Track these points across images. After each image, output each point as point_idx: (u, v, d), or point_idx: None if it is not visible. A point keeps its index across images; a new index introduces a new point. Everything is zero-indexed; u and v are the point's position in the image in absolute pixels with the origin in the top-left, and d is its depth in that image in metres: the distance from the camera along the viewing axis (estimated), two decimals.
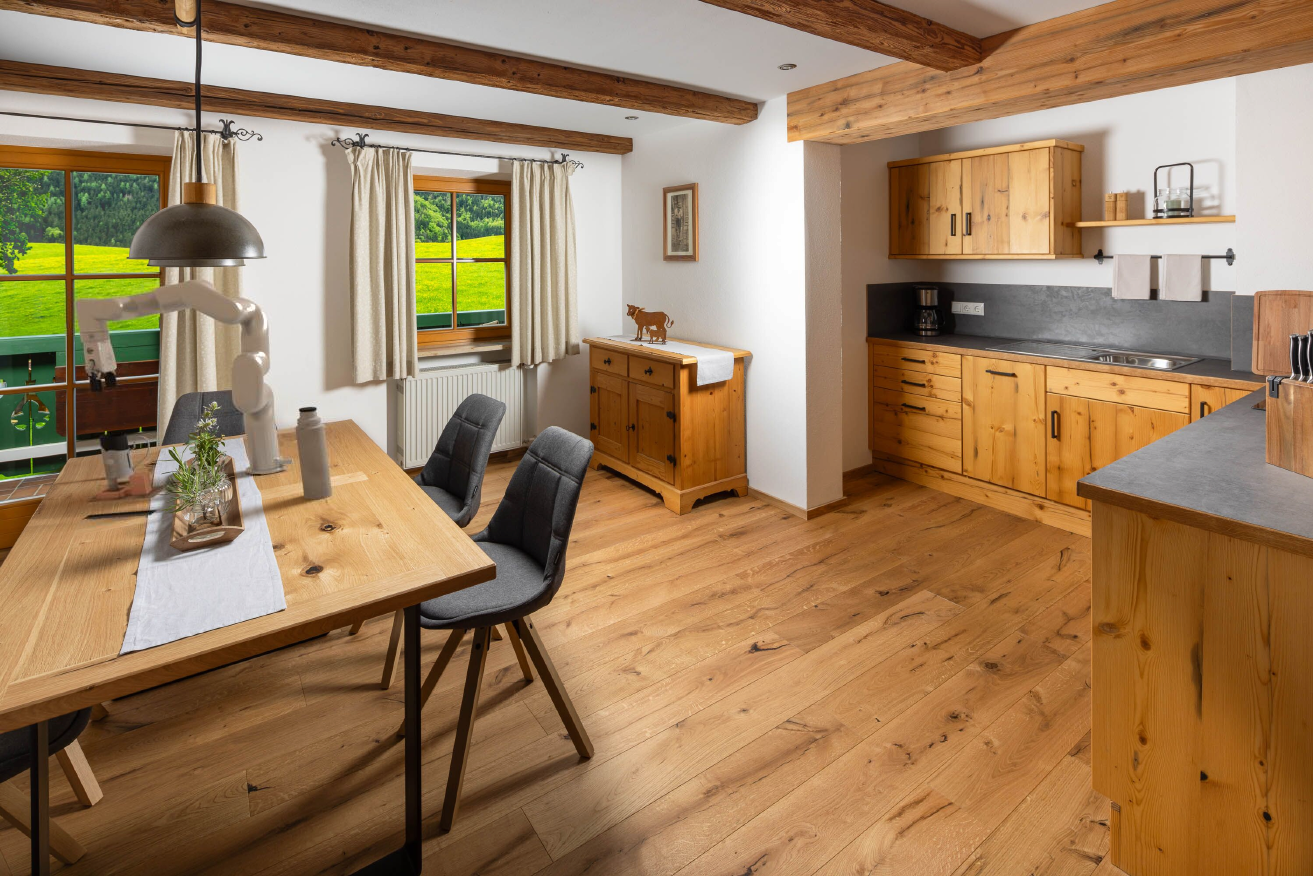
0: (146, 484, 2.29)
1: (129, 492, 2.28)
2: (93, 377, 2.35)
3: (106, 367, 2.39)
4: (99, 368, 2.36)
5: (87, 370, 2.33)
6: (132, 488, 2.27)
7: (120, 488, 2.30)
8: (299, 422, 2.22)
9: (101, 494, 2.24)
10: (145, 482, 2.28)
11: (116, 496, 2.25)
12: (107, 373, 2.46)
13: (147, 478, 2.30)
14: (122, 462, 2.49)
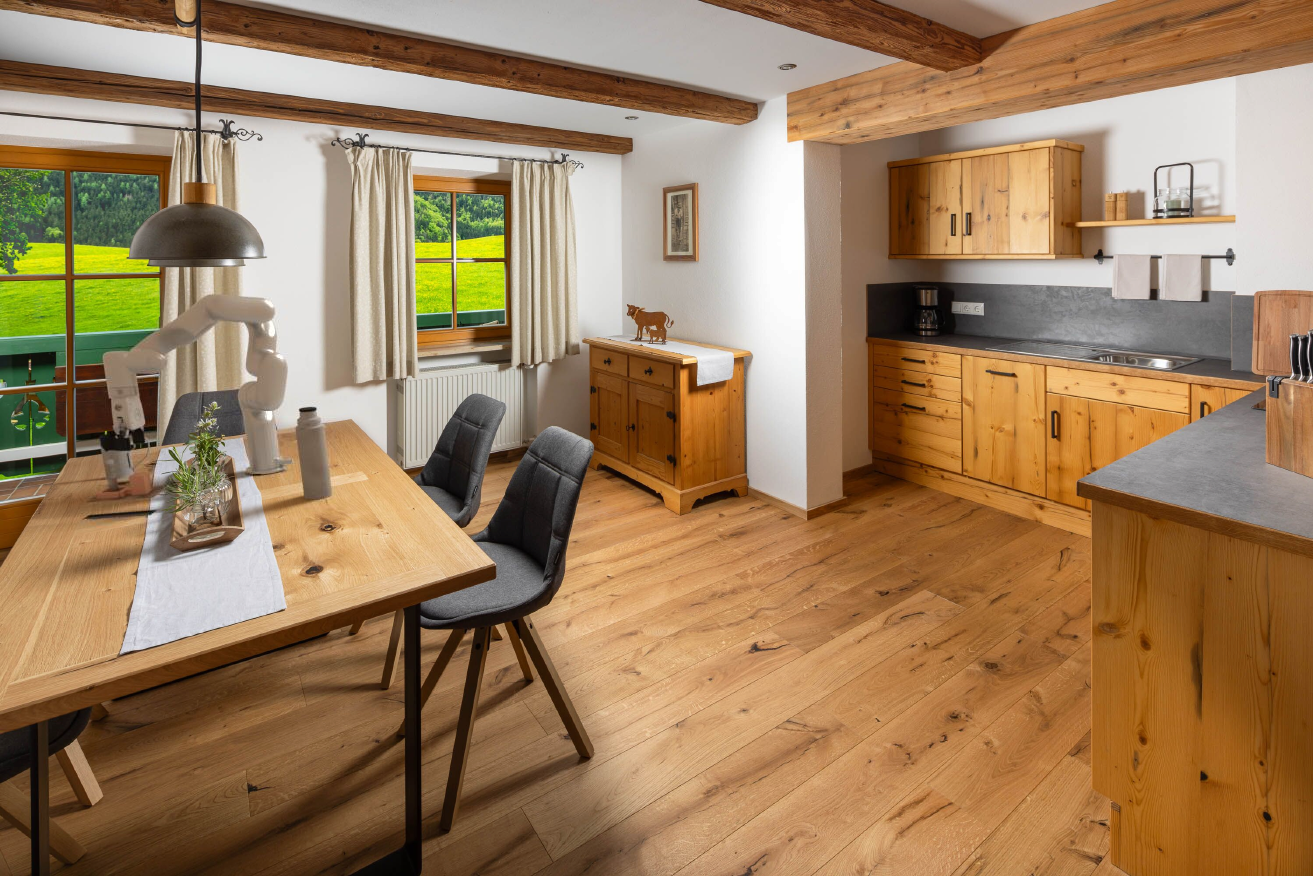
0: (146, 484, 2.29)
1: (129, 492, 2.28)
2: (121, 436, 2.19)
3: (135, 424, 2.23)
4: (127, 426, 2.20)
5: (115, 429, 2.17)
6: (132, 488, 2.27)
7: (120, 488, 2.30)
8: (299, 422, 2.22)
9: (101, 494, 2.24)
10: (145, 482, 2.28)
11: (116, 496, 2.25)
12: (135, 429, 2.30)
13: (147, 478, 2.30)
14: (122, 462, 2.49)
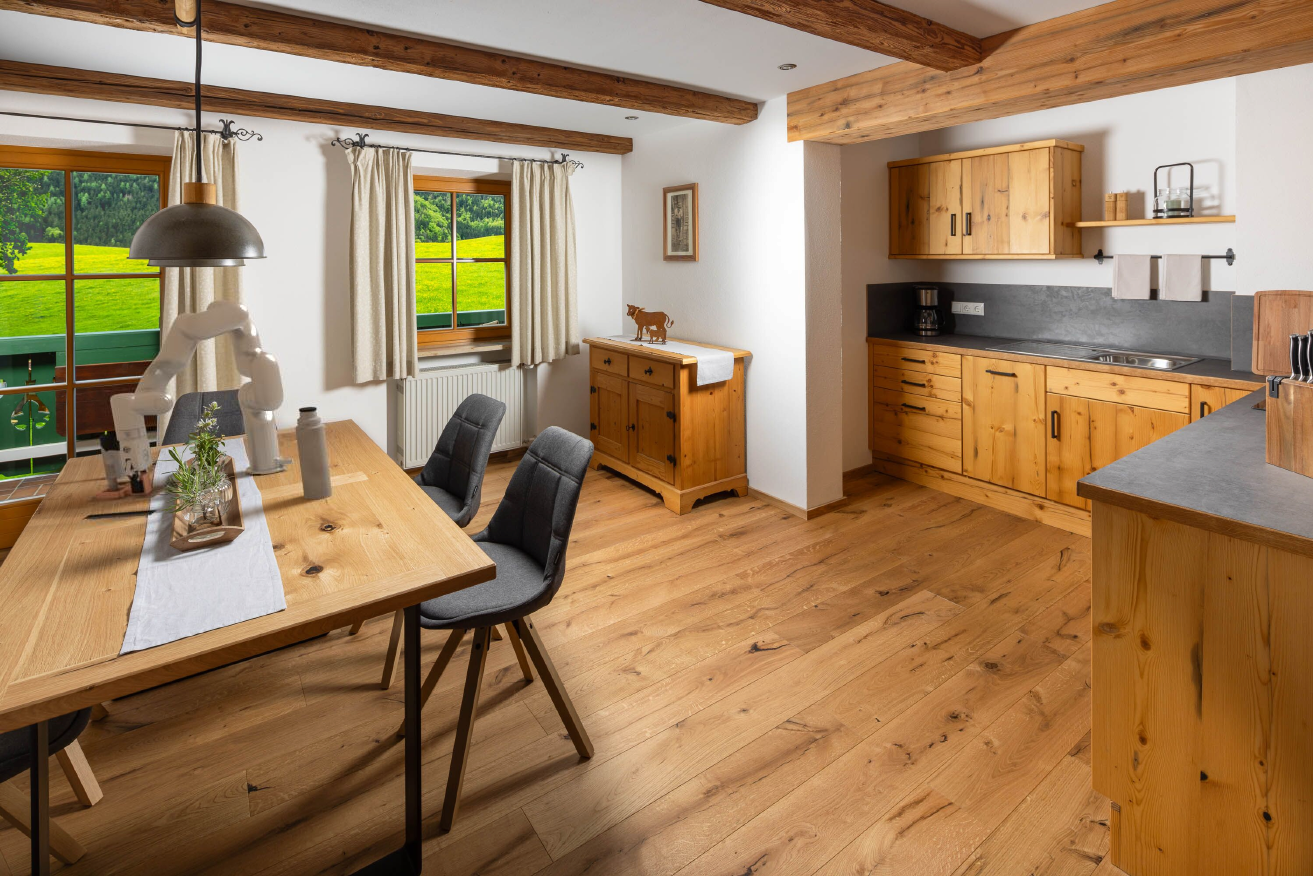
0: (146, 484, 2.29)
1: (129, 492, 2.28)
2: (134, 479, 2.25)
3: (143, 465, 2.26)
4: (136, 467, 2.23)
5: (128, 476, 2.22)
6: None
7: (120, 488, 2.30)
8: (299, 422, 2.22)
9: (101, 494, 2.24)
10: (145, 482, 2.28)
11: (116, 496, 2.25)
12: None
13: (147, 478, 2.30)
14: None
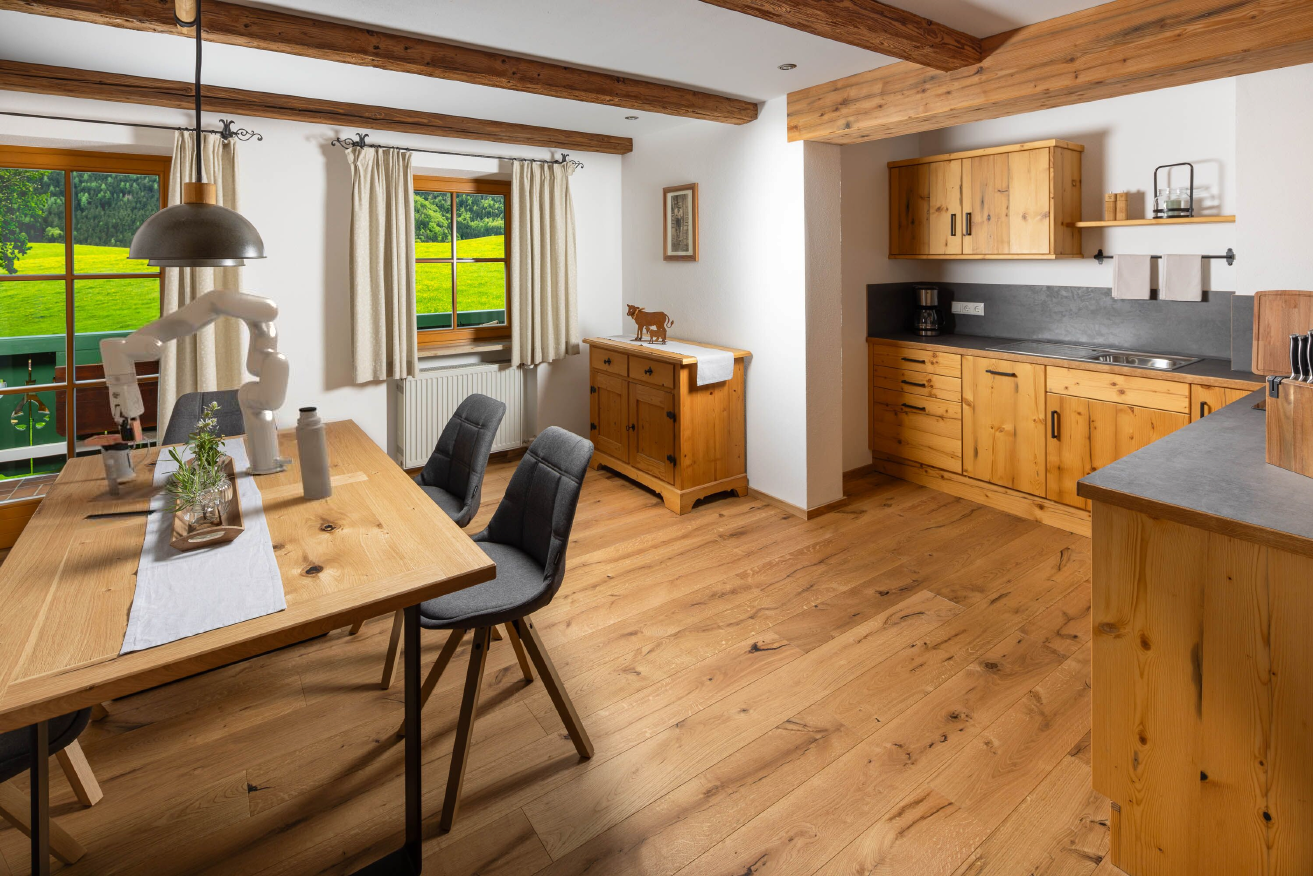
0: (136, 432, 2.23)
1: (119, 440, 2.22)
2: (124, 426, 2.19)
3: (133, 412, 2.20)
4: (125, 413, 2.18)
5: (117, 422, 2.16)
6: None
7: (110, 436, 2.25)
8: (299, 422, 2.22)
9: (90, 441, 2.18)
10: (135, 430, 2.22)
11: (105, 443, 2.19)
12: None
13: (138, 426, 2.24)
14: (122, 462, 2.49)
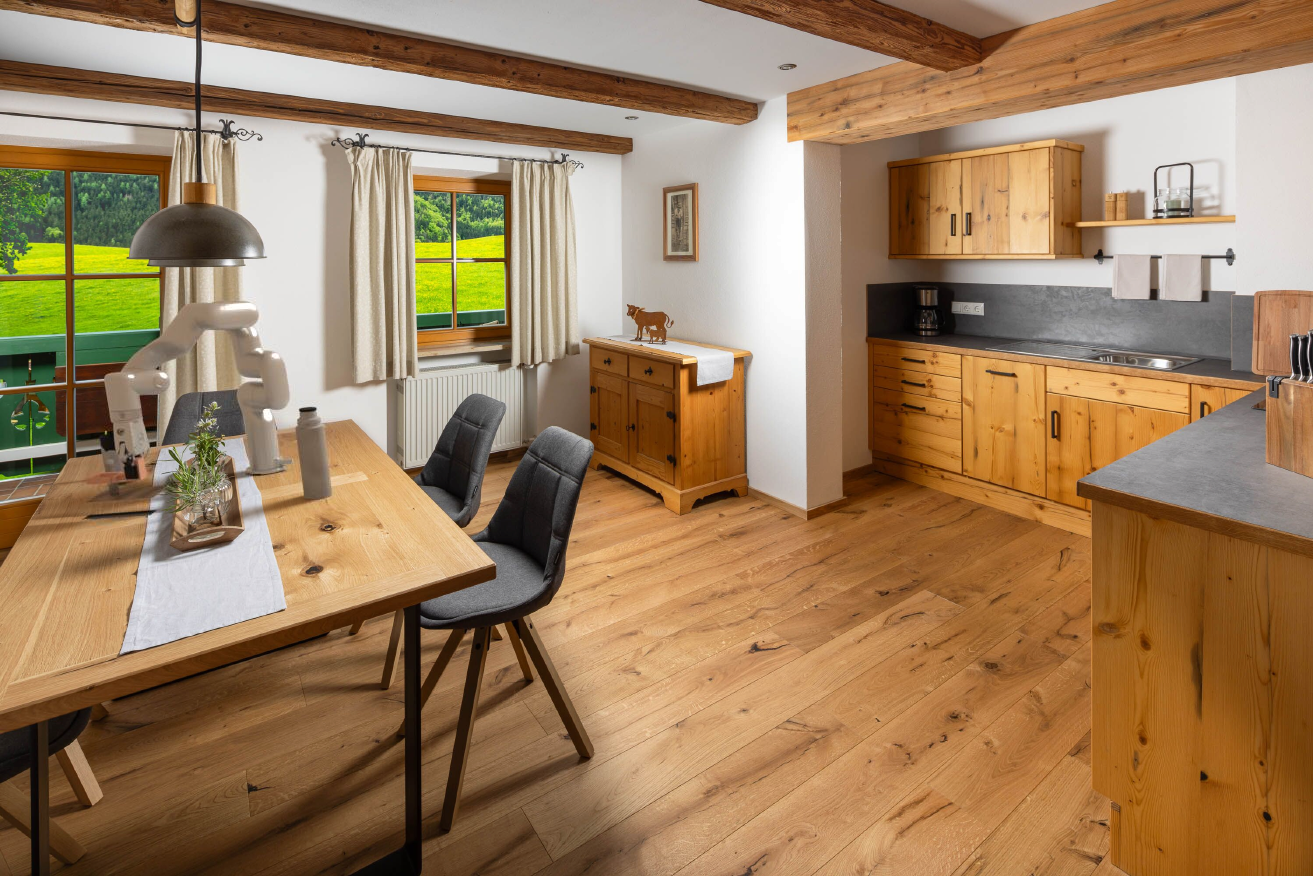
0: (140, 470, 2.14)
1: (122, 478, 2.14)
2: (128, 464, 2.11)
3: (138, 449, 2.12)
4: (130, 451, 2.09)
5: (122, 460, 2.08)
6: None
7: (113, 474, 2.16)
8: (299, 422, 2.22)
9: (92, 479, 2.10)
10: (139, 467, 2.14)
11: (108, 482, 2.11)
12: None
13: (142, 464, 2.16)
14: None
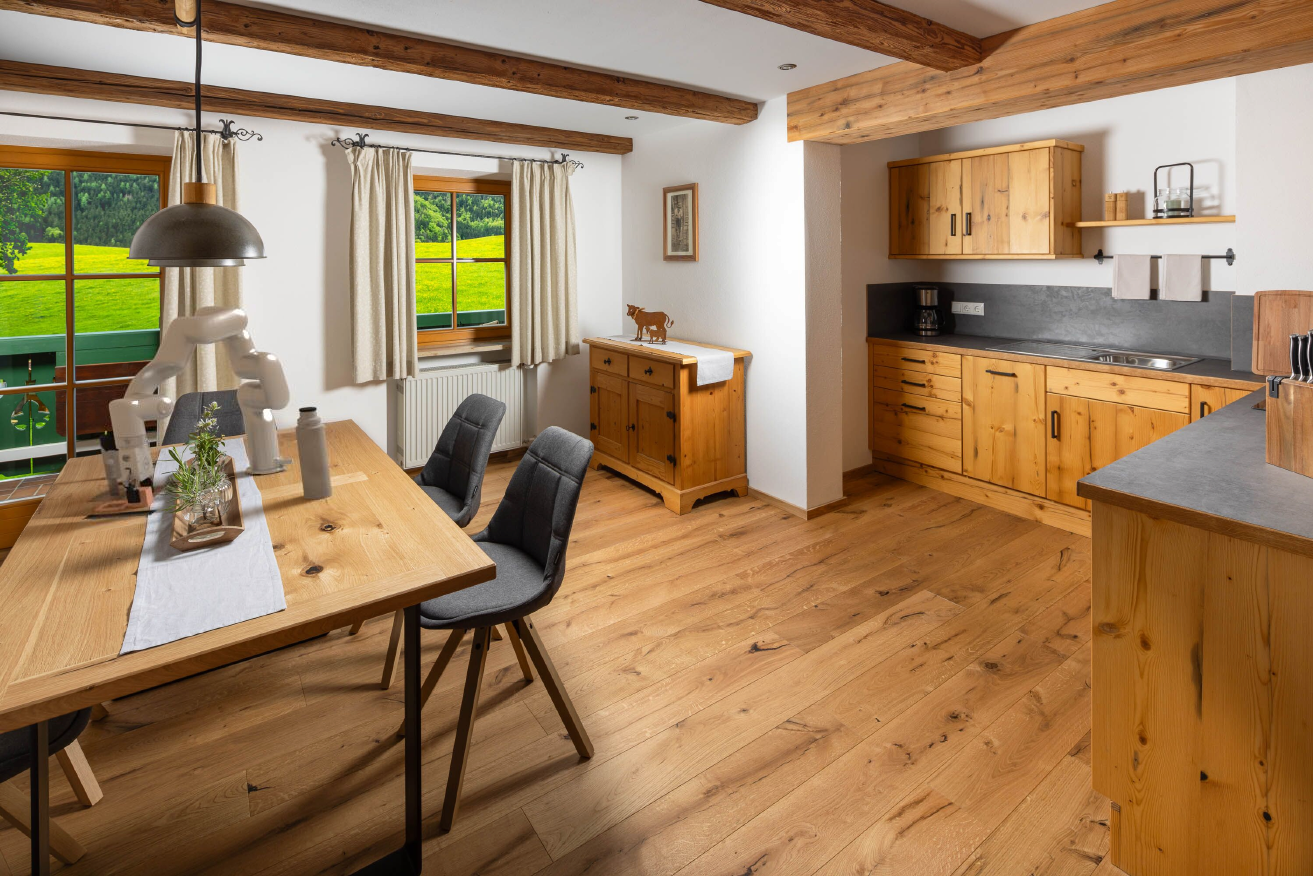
0: (148, 499, 2.17)
1: None
2: (130, 488, 2.10)
3: (143, 474, 2.14)
4: (136, 477, 2.11)
5: (124, 482, 2.08)
6: (133, 504, 2.16)
7: (121, 503, 2.19)
8: (299, 422, 2.22)
9: (101, 510, 2.12)
10: (147, 497, 2.16)
11: None
12: None
13: (150, 493, 2.18)
14: None
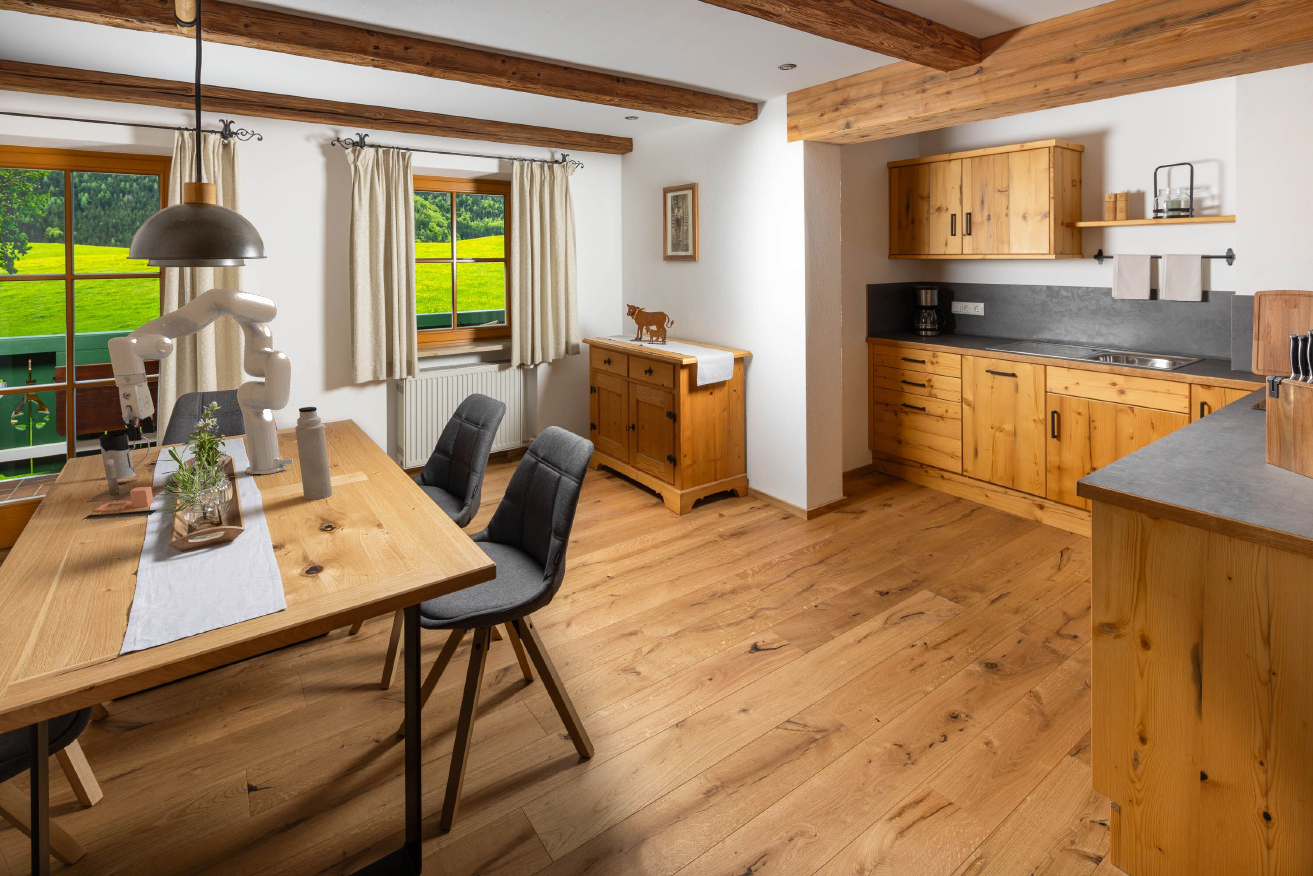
0: (148, 499, 2.17)
1: None
2: (131, 425, 2.11)
3: (144, 413, 2.15)
4: (137, 415, 2.12)
5: (124, 418, 2.09)
6: (133, 504, 2.16)
7: (121, 503, 2.19)
8: (299, 422, 2.22)
9: (101, 510, 2.12)
10: (147, 497, 2.16)
11: None
12: (144, 418, 2.22)
13: (150, 493, 2.18)
14: (122, 462, 2.49)
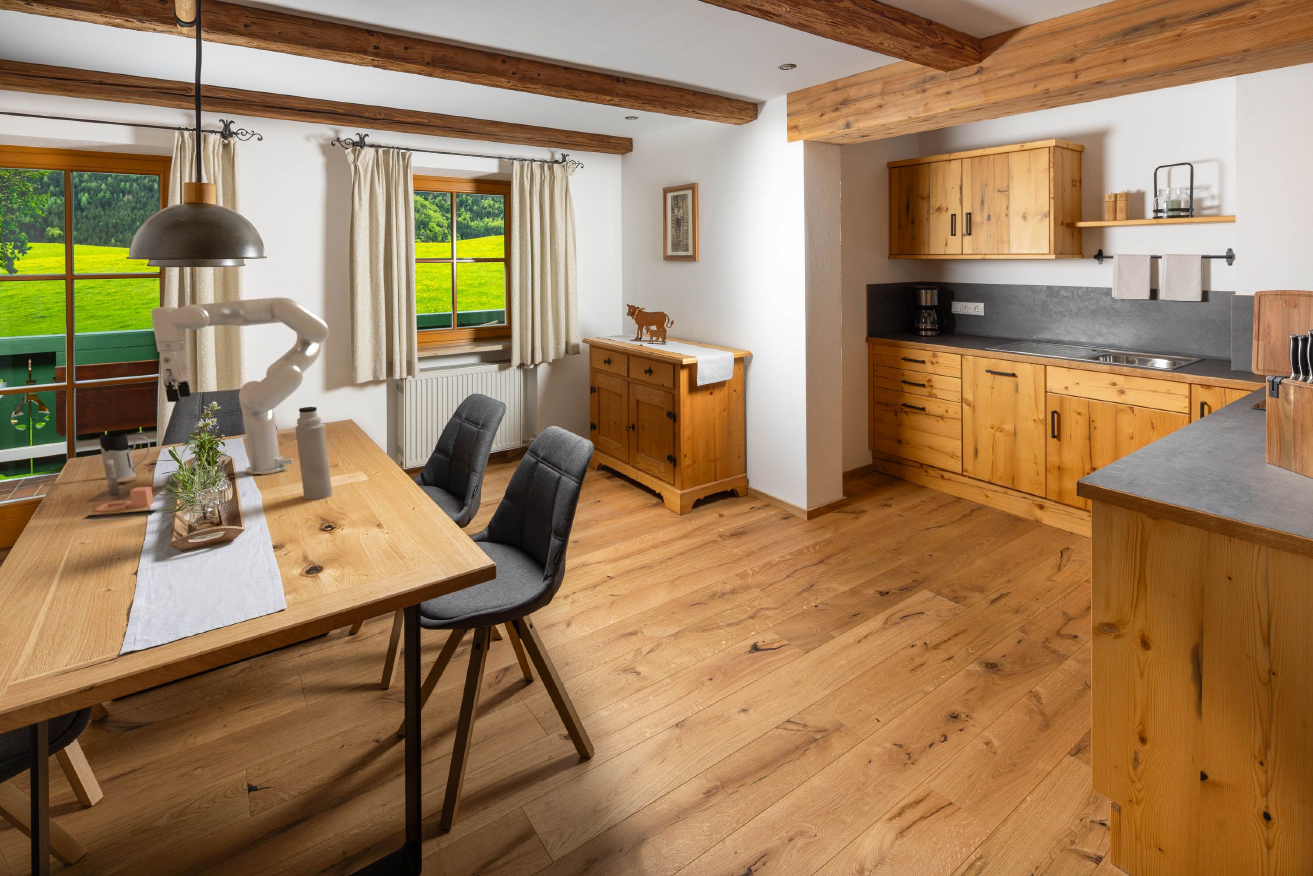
0: (148, 499, 2.17)
1: None
2: (170, 387, 2.32)
3: (182, 377, 2.36)
4: (176, 378, 2.33)
5: (165, 380, 2.29)
6: (133, 504, 2.16)
7: (121, 503, 2.19)
8: (299, 422, 2.22)
9: (101, 510, 2.12)
10: (147, 497, 2.16)
11: None
12: (181, 382, 2.43)
13: (150, 493, 2.18)
14: (122, 462, 2.49)
